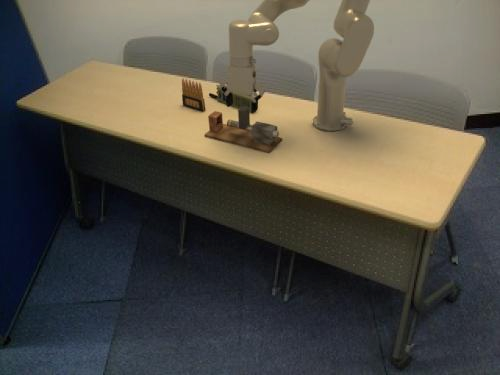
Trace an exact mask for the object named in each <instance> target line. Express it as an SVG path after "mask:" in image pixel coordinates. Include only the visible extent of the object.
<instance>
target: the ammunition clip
mask: <svg viewBox="0 0 500 375" xmlns="http://www.w3.org/2000/svg"><path fill="white" fill-rule="evenodd" d="M181 92H182V95H181V97H182V98H181V99H182V107H186V108H188V109H191V110H194V111H197V112H201V113H203V112H205V111H206V104H205V98H204V93H203V88H202V83H201V82H199V83H198V82H197V81H194V80H192V82H191V80H190V79H187V78H185V79H184V78H183V77H182V78H181Z"/></svg>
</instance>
